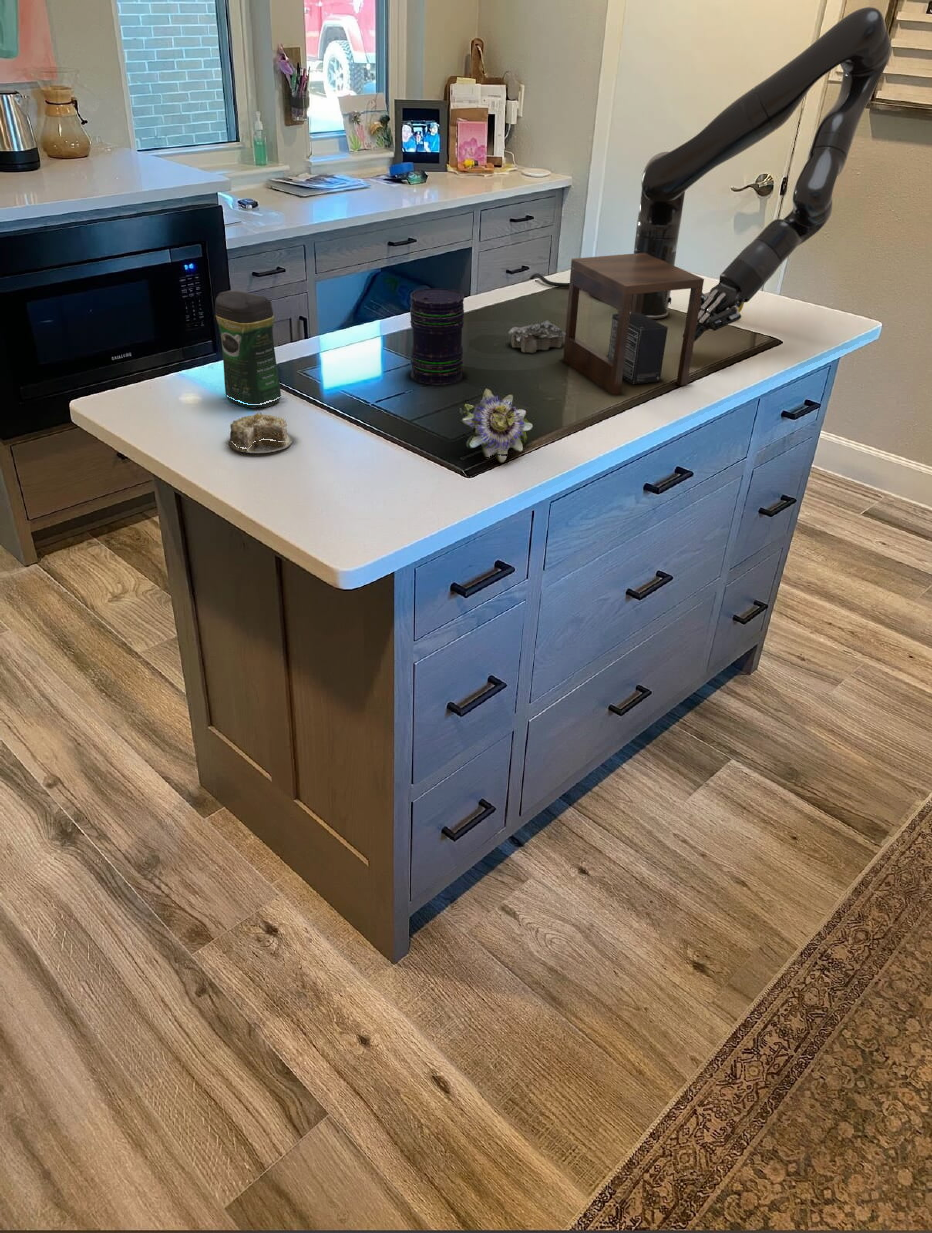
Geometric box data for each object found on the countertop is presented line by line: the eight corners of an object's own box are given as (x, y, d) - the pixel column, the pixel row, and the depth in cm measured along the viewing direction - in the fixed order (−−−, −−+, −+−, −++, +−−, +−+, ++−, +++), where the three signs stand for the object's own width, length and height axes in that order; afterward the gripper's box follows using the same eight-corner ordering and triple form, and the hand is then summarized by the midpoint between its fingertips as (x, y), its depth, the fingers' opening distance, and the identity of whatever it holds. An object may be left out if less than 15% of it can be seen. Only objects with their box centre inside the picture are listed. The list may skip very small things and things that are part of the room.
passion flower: (499, 491, 151) (473, 449, 141) (461, 456, 157) (433, 413, 147) (552, 445, 151) (529, 399, 141) (512, 411, 157) (487, 365, 147)
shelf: (563, 360, 188) (571, 258, 177) (632, 352, 193) (644, 252, 182) (613, 395, 173) (626, 286, 162) (687, 385, 178) (704, 278, 167)
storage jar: (438, 363, 185) (438, 285, 177) (473, 376, 179) (475, 296, 171) (399, 374, 179) (398, 294, 171) (435, 388, 173) (435, 306, 165)
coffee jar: (289, 401, 167) (280, 294, 156) (254, 413, 162) (242, 303, 151) (253, 387, 172) (242, 282, 161) (218, 399, 167) (204, 292, 156)
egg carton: (525, 355, 190) (526, 334, 188) (505, 344, 196) (506, 324, 193) (568, 347, 195) (569, 327, 193) (547, 336, 200) (548, 317, 198)
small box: (662, 381, 179) (670, 326, 173) (632, 385, 177) (640, 330, 171) (633, 364, 187) (640, 310, 181) (605, 367, 185) (610, 313, 179)
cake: (218, 443, 152) (213, 411, 150) (274, 430, 157) (270, 399, 155) (246, 460, 145) (241, 426, 143) (303, 446, 151) (300, 413, 148)
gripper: (780, 293, 179) (714, 363, 182) (738, 275, 189) (677, 342, 192) (762, 266, 175) (696, 338, 177) (721, 249, 185) (658, 318, 188)
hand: (686, 340), depth 185 cm, fingers closed
